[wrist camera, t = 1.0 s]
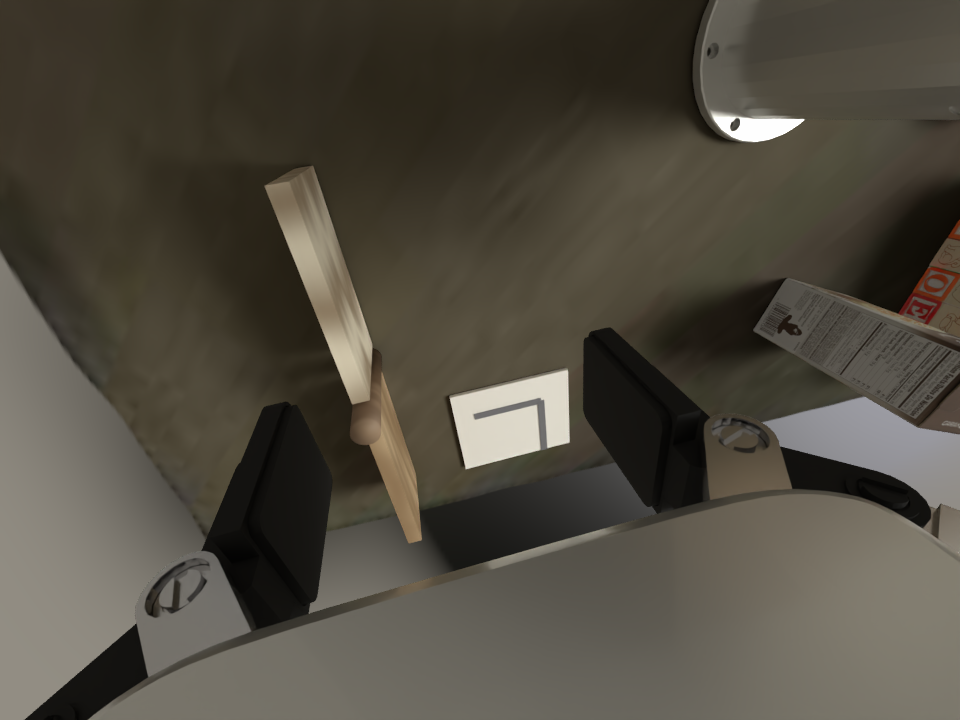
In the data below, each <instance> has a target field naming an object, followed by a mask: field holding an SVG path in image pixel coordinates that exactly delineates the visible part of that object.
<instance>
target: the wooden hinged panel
mask: <svg viewBox="0 0 960 720" xmlns="http://www.w3.org/2000/svg"><path fill="white" fill-rule="evenodd" d="M350 437H351V439H352V440H353V441H354V442H355V443H357V444H360V445H370V448H371V450H372V453H373V455H374V458H375V460H376V463H377V465H378V468H379V470H380V473H381V475H382V478H383V480H384V483H385V485H386V488H387V490H388V493H389V495H390V498H391V500H392V503H393V505H394V508H395V510H396V513H397V515H398V518H399V520H400V523H401V525H402V528H403V530H404V533H405V535H406V538H407V540H408V543H412V542H416V541H420V540H422V538H421V527H420V515H419V504H418V493H417V482H416V474H415V470H414V467H413V464H412V461H411V458H410V455H409V452H408V449H407V446H406V443H405V440H404V437H403V434H402V431H401V428H400V425H399V422H398V419H397V416H396V413H395V410H394V407H393V404H392V401H391V398H390V395H389V392H388V389H387V386H386V383H385V380H384V377H383V374H382V356H381V354H380V352H379V351H378V350H376V349H374V348H372V364H371V385H370V400H369V401H365V402H361V403H356V404H353V408H352V417H351V427H350Z"/></svg>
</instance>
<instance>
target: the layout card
mask: <svg viewBox="0 0 960 720" xmlns="http://www.w3.org/2000/svg"><path fill="white" fill-rule="evenodd" d="M449 397H450V401H451V406H452V410H453V415H454V419H455V423H456V428H457V432H458V437H459V441H460V445H461V450H462V454H463V458H464V463H465V467H466V469H468V468H472V467H476V466H480V465H484V464H487V463H491V462H495V461H499V460H503V459H507V458H511V457H515V456H518V455H522V454H526V453H530V452H534V451H538V450H544V449H547V448H549V447H553V446H557V445H561V444H565V443H569V398H568V369H567V368H563V369H559V370H555V371H550V372H546V373H542V374H538V375H534V376H529V377H525V378H521V379H517V380H513V381H508V382H504V383H500V384H496V385H492V386H487V387H483V388H479V389H475V390H471V391H466V392H462V393H458V394H454V395H450V396H449Z"/></svg>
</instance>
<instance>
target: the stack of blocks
mask: <svg viewBox="0 0 960 720" xmlns="http://www.w3.org/2000/svg"><path fill="white" fill-rule="evenodd" d="M898 314H899V315H902V316H905V317H907V318H910V319H913V320H915V321H918V322H921V323H923V324H926V325H929V326H931V327H934V328H936V329H939V330H942V331H944V332H947V333H950V334H953V335H955V336H958V337H960V220H959V221H958V223H957V224H956V226H955V227H954V229H953V230H952V232H951V233H950V235H949V236H948V238H947V239H946V240H945V242H944V243H943V245H942V246H941V248H940V249H939V251H938V252H937V254H936V255H935V257H934V258H933V260H932V261H931V263H930V264H929V267H928V269H927V270H926V271H925V273H924V275H923V277H922V278H921V279H920V281H919V282H918V284H917V285H916V287H915V288H914V290H913V292H912V294H911V295H910V296H909V298H908V299H907V301H906V302H905V304H904V305H903V307H902V308H901V310H900V312H899V313H898Z"/></svg>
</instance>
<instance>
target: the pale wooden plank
mask: <svg viewBox="0 0 960 720" xmlns="http://www.w3.org/2000/svg"><path fill="white" fill-rule="evenodd" d="M265 189H266V191H267V194H268V196H269V199H270V201H271V204H272V206H273V209H274V211H275V214H276V216H277V219H278V221H279V224H280V226H281V229H282V231H283V234H284V236H285V238H286V241H287V243H288V246H289V248H290V251H291V253H292V256H293V258H294V261H295V263H296V266H297V268H298V271H299V273H300V276H301V278H302V281H303V283H304V286H305V288H306V291H307V293H308V296H309V298H310V301H311V303H312V306H313V308H314V311H315V313H316V316H317V318H318V321H319V323H320V326H321V328H322V331H323V333H324V335H325V338H326V340H327V343H328V345H329V348H330V350H331V353H332V355H333V358H334V360H335V363H336V365H337V368H338V370H339V373H340V375H341V378H342V380H343V383H344V385H345V388H346V390H347V393H348V395H349V398H350V400H351V403H352V404H356V403H361V402H365V401H369V400H370V385H371V364H372V342H371V339H370V336H369V333H368V330H367V327H366V324H365V321H364V318H363V315H362V312H361V309H360V306H359V303H358V300H357V297H356V294H355V291H354V288H353V285H352V282H351V279H350V276H349V273H348V270H347V267H346V264H345V261H344V258H343V255H342V252H341V249H340V245H339V242H338V239H337V236H336V233H335V230H334V227H333V224H332V221H331V218H330V215H329V212H328V209H327V206H326V203H325V200H324V197H323V194H322V191H321V188H320V185H319V182H318V179H317V176H316V173H315V170H314V167H313V166H307V167H301V168H295V169H293V170H291V171H290V172H288V173H286V174H284V175H283V176H281V177H279V178H277V179H276V180H274V181H272V182H270V183H269V184H267V185H265Z"/></svg>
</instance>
